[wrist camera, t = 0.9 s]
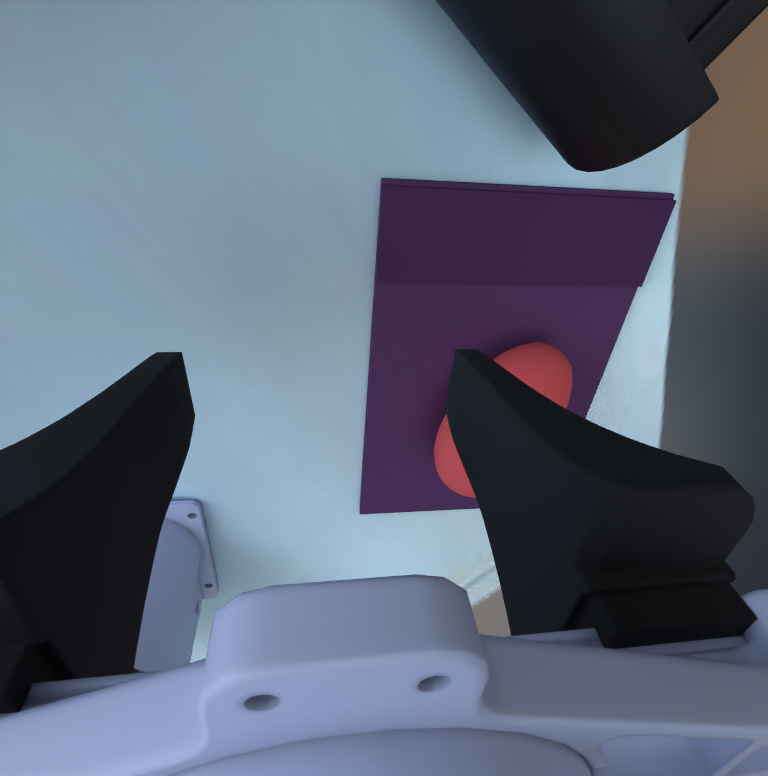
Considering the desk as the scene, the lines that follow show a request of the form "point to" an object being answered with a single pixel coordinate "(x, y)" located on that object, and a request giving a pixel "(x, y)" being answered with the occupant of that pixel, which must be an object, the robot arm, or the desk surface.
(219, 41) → the desk surface
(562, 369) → the red oval piece
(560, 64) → the end cap
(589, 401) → the cloth
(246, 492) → the desk surface
